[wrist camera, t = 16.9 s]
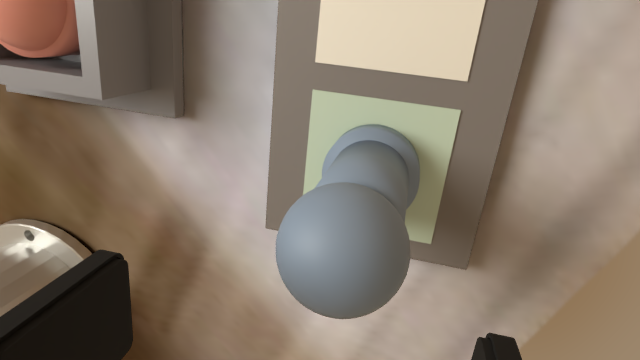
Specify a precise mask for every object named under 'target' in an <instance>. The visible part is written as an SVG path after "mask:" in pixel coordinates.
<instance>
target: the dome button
mask: <svg viewBox="0 0 640 360" xmlns="http://www.w3.org/2000/svg"><path fill="white" fill-rule="evenodd" d="M0 44H1V45H3V46H4V47H5V48H7V49H8V50H10V51H12V52H14V53H15V54H18V55H21V56H24V57H29V58H40V57H54V56H67V55H80V48H79V38H78V29H77V20H76V10H75V1H74V0H0Z"/></svg>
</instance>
